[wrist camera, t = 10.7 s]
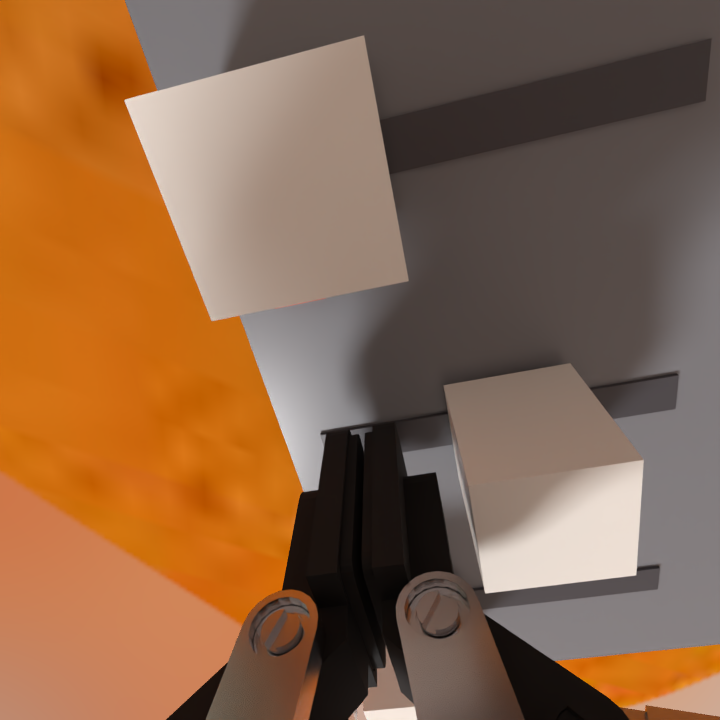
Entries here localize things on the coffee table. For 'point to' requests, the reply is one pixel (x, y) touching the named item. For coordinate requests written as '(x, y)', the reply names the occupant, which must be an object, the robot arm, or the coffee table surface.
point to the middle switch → (544, 480)
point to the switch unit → (518, 261)
